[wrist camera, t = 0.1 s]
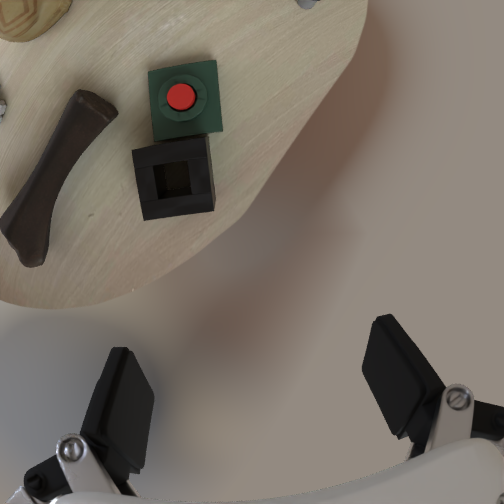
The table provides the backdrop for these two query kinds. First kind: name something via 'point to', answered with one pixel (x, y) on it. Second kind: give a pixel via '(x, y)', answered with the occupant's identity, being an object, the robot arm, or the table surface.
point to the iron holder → (155, 186)
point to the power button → (181, 96)
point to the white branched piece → (2, 108)
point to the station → (195, 117)
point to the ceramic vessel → (29, 18)
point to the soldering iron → (307, 3)
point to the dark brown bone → (53, 176)
